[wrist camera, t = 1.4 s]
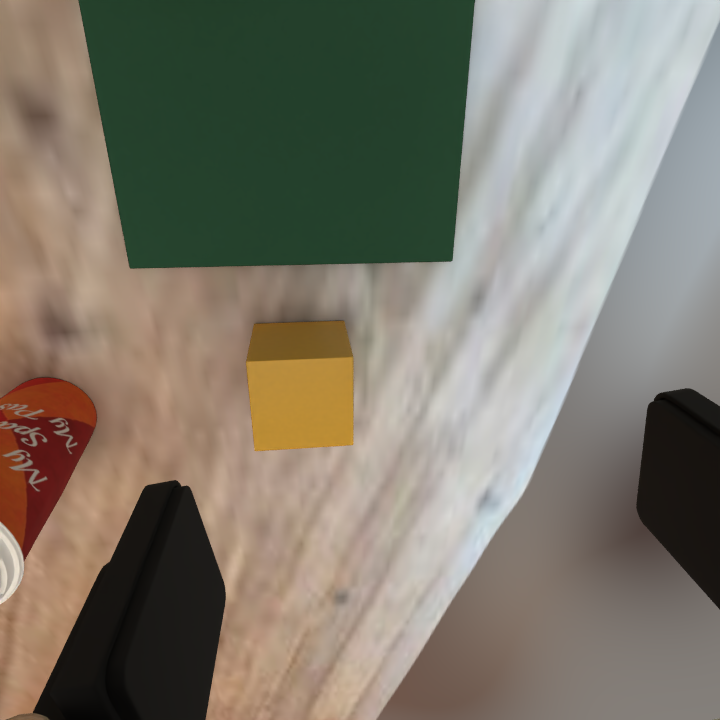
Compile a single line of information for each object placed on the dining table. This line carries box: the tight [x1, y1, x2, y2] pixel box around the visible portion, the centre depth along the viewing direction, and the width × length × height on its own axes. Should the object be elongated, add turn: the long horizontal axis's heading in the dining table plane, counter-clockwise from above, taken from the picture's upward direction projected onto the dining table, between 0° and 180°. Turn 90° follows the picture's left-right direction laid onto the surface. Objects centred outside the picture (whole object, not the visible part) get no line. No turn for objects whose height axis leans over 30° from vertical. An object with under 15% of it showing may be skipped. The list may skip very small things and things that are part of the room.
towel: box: [79, 0, 475, 268], centre depth 27 cm, size 20×22×1 cm
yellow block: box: [246, 321, 353, 451], centre depth 32 cm, size 6×6×6 cm
